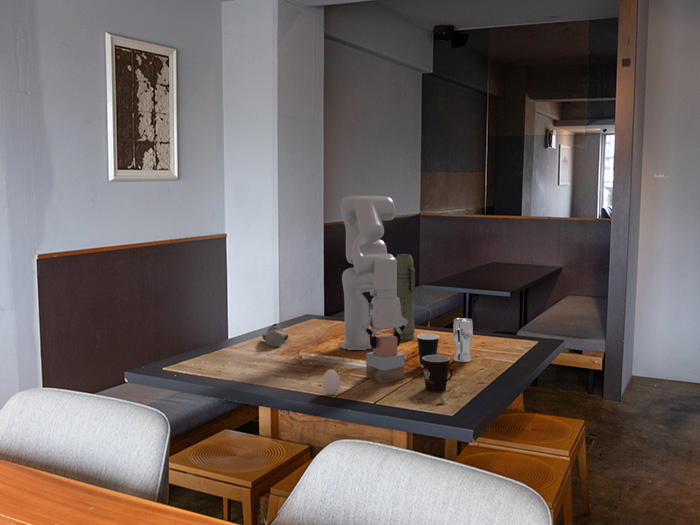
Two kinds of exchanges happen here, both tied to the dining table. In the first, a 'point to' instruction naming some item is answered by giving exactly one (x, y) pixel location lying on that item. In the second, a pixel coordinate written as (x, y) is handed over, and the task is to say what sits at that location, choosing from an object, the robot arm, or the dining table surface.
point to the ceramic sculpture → (275, 336)
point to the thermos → (406, 293)
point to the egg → (331, 382)
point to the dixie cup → (427, 345)
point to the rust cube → (386, 345)
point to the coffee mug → (436, 372)
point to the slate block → (385, 361)
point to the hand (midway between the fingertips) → (385, 346)
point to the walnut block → (385, 374)
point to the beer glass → (462, 339)
